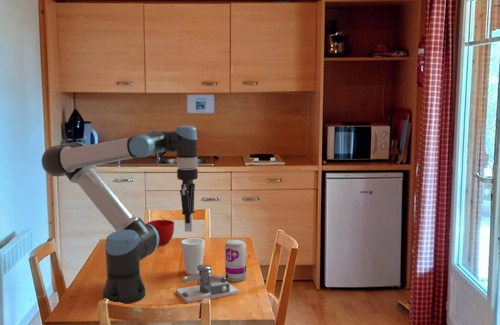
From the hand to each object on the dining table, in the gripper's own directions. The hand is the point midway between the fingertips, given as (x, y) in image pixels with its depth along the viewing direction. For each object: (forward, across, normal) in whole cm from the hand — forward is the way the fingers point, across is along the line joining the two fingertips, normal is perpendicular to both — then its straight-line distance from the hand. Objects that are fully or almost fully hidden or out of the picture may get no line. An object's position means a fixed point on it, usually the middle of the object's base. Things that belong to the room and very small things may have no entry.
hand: (188, 230), depth 211 cm
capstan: (+21, +6, +5) cm, 22 cm away
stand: (+22, +3, +7) cm, 24 cm away
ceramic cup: (+23, -55, -29) cm, 66 cm away
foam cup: (+23, -18, -3) cm, 29 cm away
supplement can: (+23, -13, +15) cm, 30 cm away
